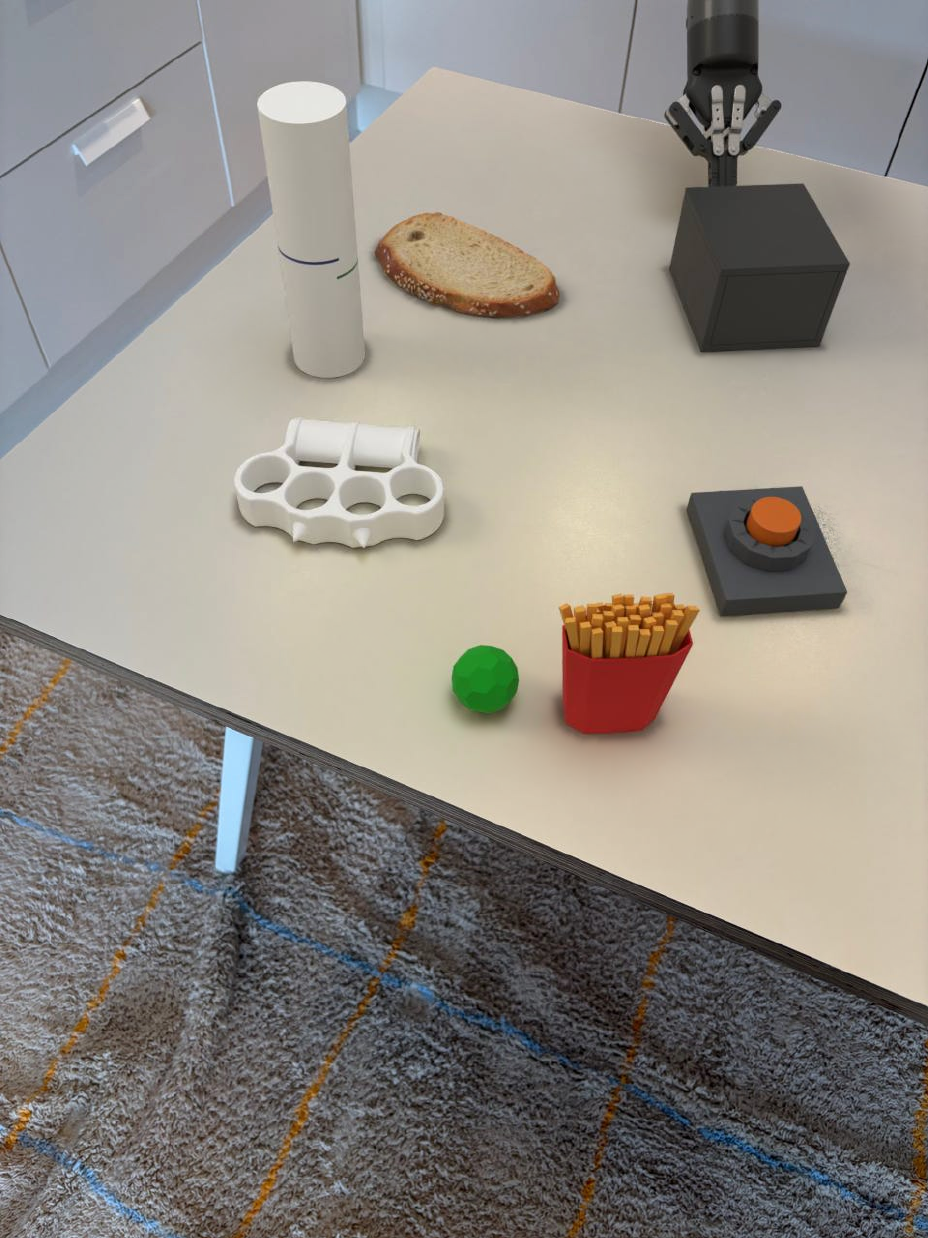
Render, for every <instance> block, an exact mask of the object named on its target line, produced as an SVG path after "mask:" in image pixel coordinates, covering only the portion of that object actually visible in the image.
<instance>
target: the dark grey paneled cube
mask: <svg viewBox="0 0 928 1238" xmlns="http://www.w3.org/2000/svg"><path fill="white" fill-rule="evenodd" d="M850 265H851V262H850V261H849V260H848V258H847V256H846V255H845V252H844V251H843V249H842V248H841V245H840V244H839V242H838V240H837V238H836V237H835V235H834V233H833V232H832V230H831V228H830V227H829V225H828V223H827V222H826V220H825V218H824V216H823V214H822V213H821V211H820V209H819V207H818V205H817V204H816V202H815V200H814V199H813V197H812V195H811V194H810V192H809V190H808V189H807V187H806V185H805V183H780V184H779V183H777V184H750V185H749V184H748V185H736V186H716V187H708V186H695V187H694V186H691V187H690V186H689V187H685V189H684V195H683V199H682V205H681V209H680V215H679V219H678V224H677V228H676V233H675V238H674V243H673V249H672V253H671V257H670V262H669V268H668V270H669V271H668V272H669V273H670V275H671V278H672V280H673V284H674V286H675V288H676V289H675V290H676V291H677V294H678V296H679V299H680V302H681V304H682V307H683V310H684V313H685V315H686V318H687V320H688V322H689V325H690V329H691V331H692V333H693V335H694V338H695V341H696V343H697V346H698V348H699V351H700V352H701V353H705V352H707V353H708V352H731V351H749V350H750V351H751V350H752V351H753V350H768V349H769V350H771V349H789V348H790V349H791V348H793V349H794V348H807V347H808V348H813V347H820V346H821V344H822V341H823V338H824V336H825V333H826V330H827V327H828V324H829V322H830V319H831V316H832V314H833V311H834V309H835V305H836V302H837V300H838V297H839V294H840V292H841V289H842V286H843V283H844V282H845V281H844V280H845V278H846V276H847V272H848V271H849V268H850Z"/></svg>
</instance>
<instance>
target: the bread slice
mask: <svg viewBox="0 0 928 1238" xmlns="http://www.w3.org/2000/svg"><path fill="white" fill-rule="evenodd" d="M374 255H375V258H376V259H377V260H378V261H379V264H380V267H381V269H382V271H383V272H384V274H385V275H386V276H387V277H388V278H389V279H390V281H392V282H393V283H394V284H395V285H396V286H398V287H400V288H402V289H404V290H406V291H407V292H408V294H411V295H413V296H416V297H417V298H418V299H421V300H423V301H425V302H428V303H429V304H431V305H437V306H444V307H446V308H447V307H448V308H449V309H452V310H454V311H456V312H458V313H462V314H467V315H472V316H482V317H489V318H503V319H504V318H516V317H527V316H531V315H535V314H539V313H542V312H544V311H547V310H549V309H550V308H552V307H554V306H557V303H558V302H559V301H560V295H561V293H560V290H559V288H558V285H557V283H556V279H555V276H554V274H553V272H552V271H551V269H550V268H549V267H547V266H546V265H545V264H543V263H542V262H541V261H539V260H537V259H536V257H533V255H531V254H529V253H525V252H524V250H522V249H520V248H519V247H517V246H515V245H513V244H511V243H510V242H508V241H506V240H504V239H502V238H501V237H499V236H497V235H496V236H495V235H494V234H493V233H489V232H487V231H486V230H483V229H480V228H478V227H477V226H474V225H472V224H470V223H466V222H464V221H461V220H459V219H456V217H454V216H451V215H447V214H442V212H440V211H436V212H433V213H432V212H423V213H421V214H417V215H413V216H411V217H409V218H407V219H405V220H402V221H401V222H399V223H397V224H395V225H394V226H393V227H391V229H390V230H389V231H387V232H386V234H385V235H384V236H383V237H382V238H381V239H380V240H379V242H378V244H377V246H376V248H375V251H374Z"/></svg>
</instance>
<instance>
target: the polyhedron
mask: <svg viewBox="0 0 928 1238" xmlns="http://www.w3.org/2000/svg"><path fill="white" fill-rule="evenodd" d="M519 685H520V673H519V667H518V666H517V664H516V662H515V661H514V659H513V657H511V656H510V654H508V653H507V652H506V651H505V650H504V649H502V648H499V647H497V646H493V645H484V644H479V645H476V646H473V647H471V648H467V650H466V651H465V652H464V653H463V654H461V655H460V657H458V659H457V661H456V662H455V664H454V665H453V666H452V673H451V688H452V692H453V693H454V695H455V696H456V698H457V699H458V701H459V702H460V703H461V704H462V705H463V706H464V707H465V708H466V709H468V710H472V711H474V712H478V713H485V714H492V713H494V712H497V711H500V710H503V709H504V708H505V707H506V706H508V705H509V704H510V703H511V702H512V700H513V699H514V697H515V696H516V694H517V693H518V690H519Z"/></svg>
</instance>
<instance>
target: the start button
mask: <svg viewBox="0 0 928 1238" xmlns="http://www.w3.org/2000/svg"><path fill="white" fill-rule="evenodd" d="M800 523H801V514H800V512H799V510H798V508H797V507H796V506H795V505H794V504H792V503H791V502H789V501H787V500H785V499H782V498H778V497H765V498H762V499H760V500H758V501H756V502H755V503H754V505H753V506H752V509H751V512H750V515H749V517H748V520H747V529H748V532H749V534H750V535H751V536H752V537H753V538H754V539H755V540H756V541H758V542H760V543H763V544H766V545H769V546H784V545H786V544H788V543H790V542H791V541H792V540H793V539H794V537H795V535H796V533H797V530H798V528H799V526H800Z"/></svg>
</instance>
